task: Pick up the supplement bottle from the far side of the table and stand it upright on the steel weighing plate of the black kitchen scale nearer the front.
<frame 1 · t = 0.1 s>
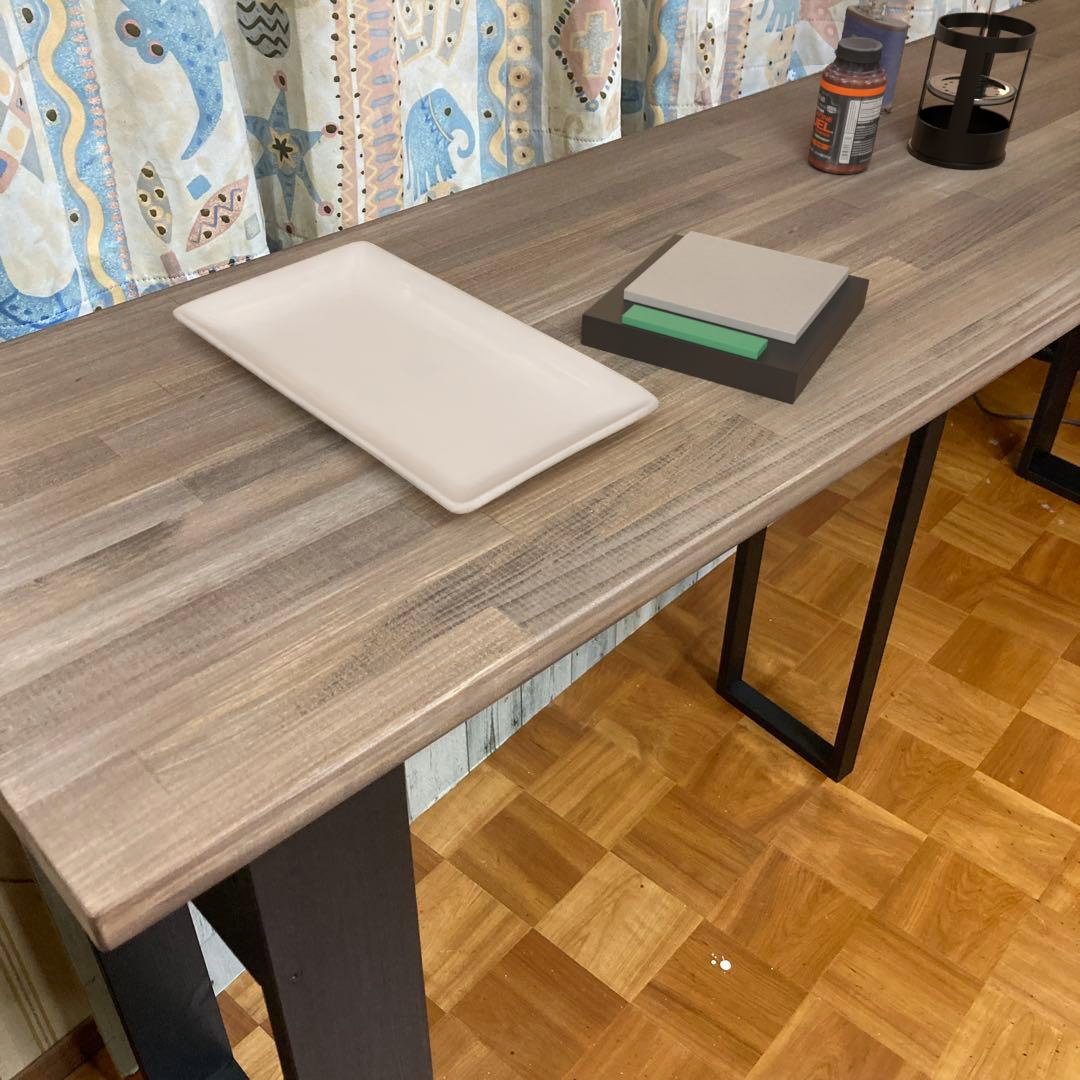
supplement bottle: (837, 167, 109), on the table
flask: (858, 103, 124), on the table
scale: (726, 325, 83), on the table
tray: (405, 396, 76), on the table
french press: (955, 153, 113), on the table
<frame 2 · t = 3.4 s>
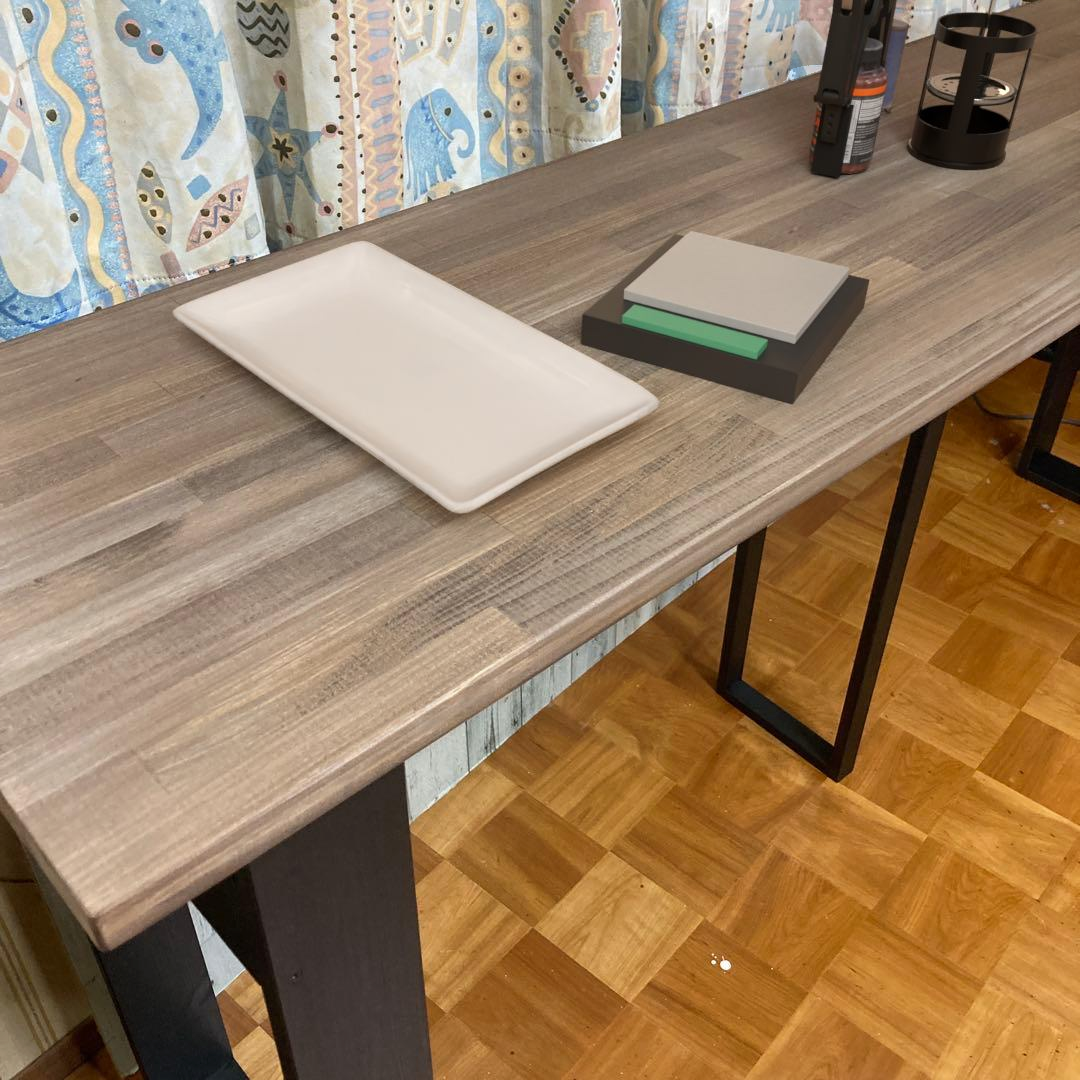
hand: (836, 161, 109), 0 cm above the table, tool pointing down, fingers closed on supplement bottle, 6 cm apart
supplement bottle: (838, 167, 109), on the table, touching gripper
everything else where it was.
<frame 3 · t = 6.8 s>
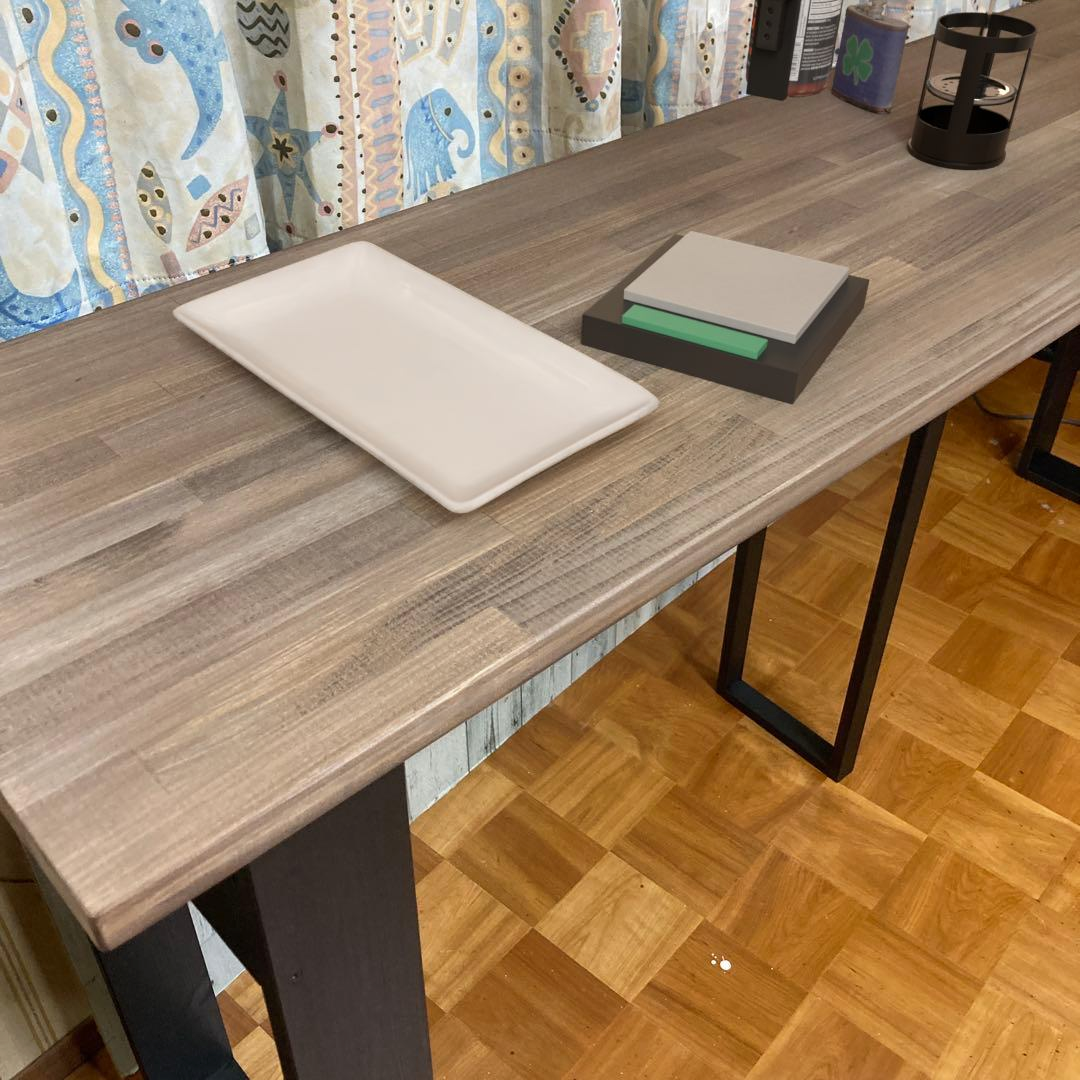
hand: (784, 82, 80), 15 cm above the table, tool pointing down, fingers closed on supplement bottle, 6 cm apart
supplement bottle: (785, 89, 80), point 15 cm above the table, touching gripper
everything else where it was.
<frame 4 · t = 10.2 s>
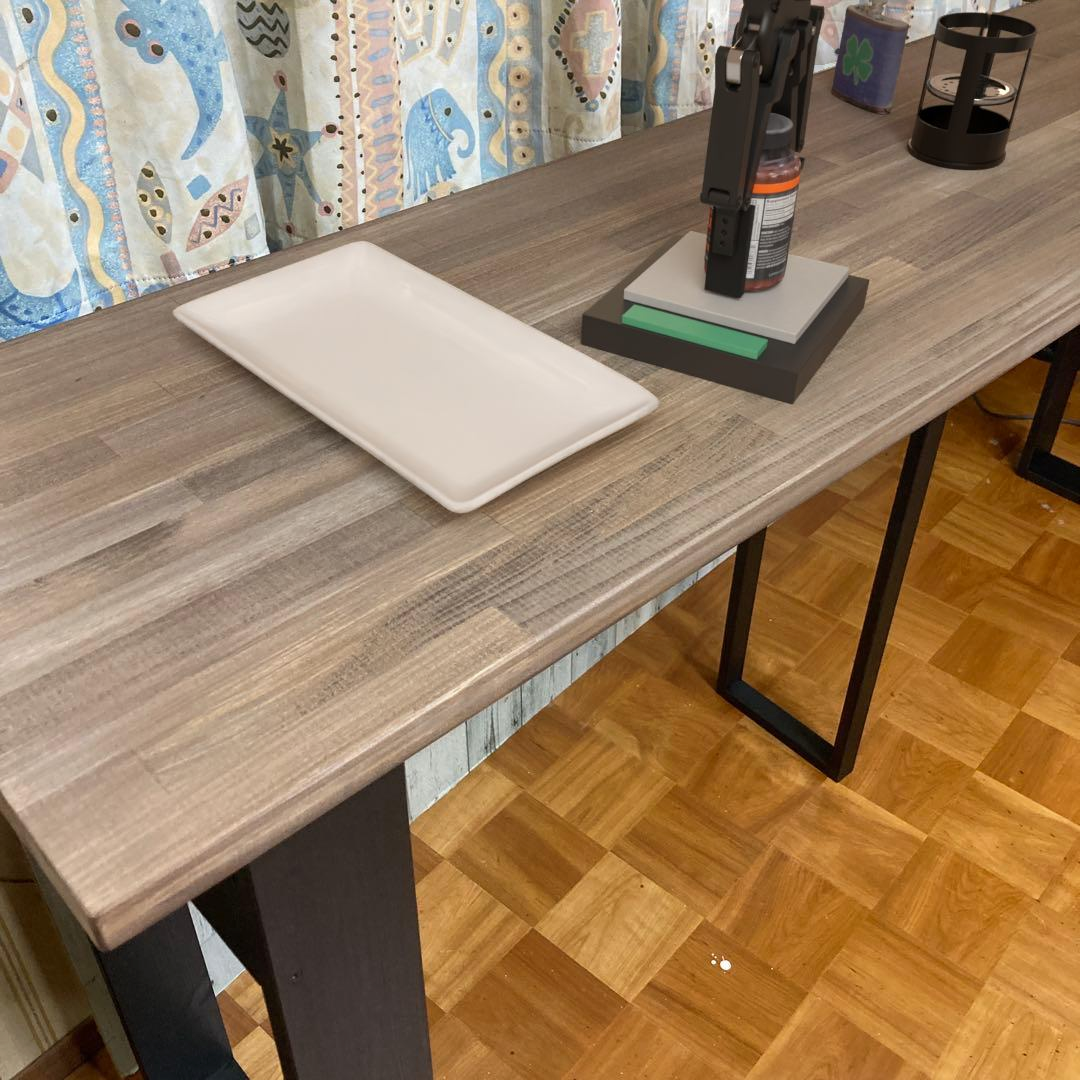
hand: (741, 273, 82), 4 cm above the table, tool pointing down, fingers closed on supplement bottle, 6 cm apart
supplement bottle: (743, 279, 82), point 3 cm above the table, touching gripper
everything else where it was.
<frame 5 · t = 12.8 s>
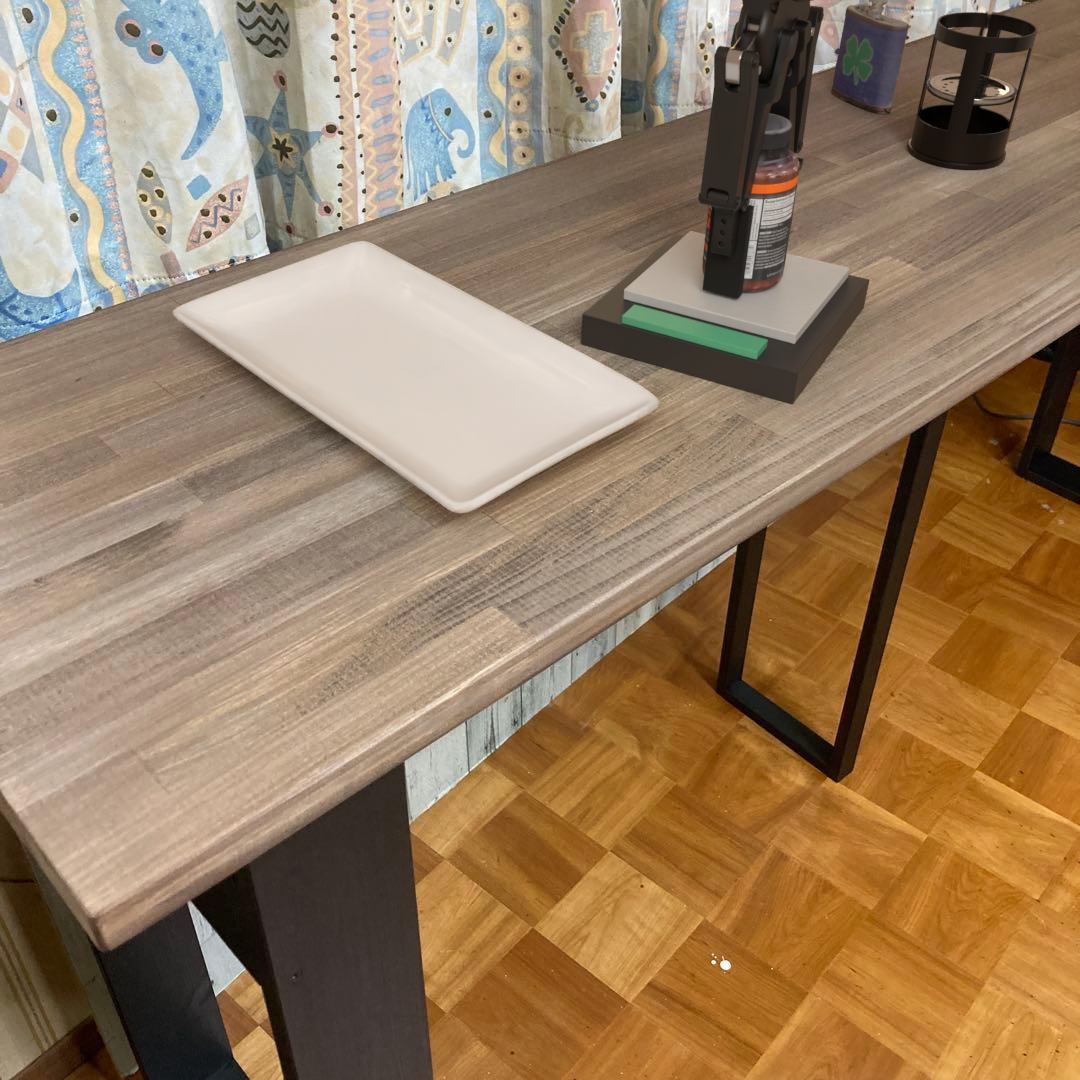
hand: (739, 273, 82), 4 cm above the table, tool pointing down, fingers closed on supplement bottle, 6 cm apart
supplement bottle: (741, 279, 82), point 3 cm above the table, touching gripper
everything else where it was.
when the fingers open (4 cm above the table, at t = 15.2 s): supplement bottle stays where it is, resting on scale.
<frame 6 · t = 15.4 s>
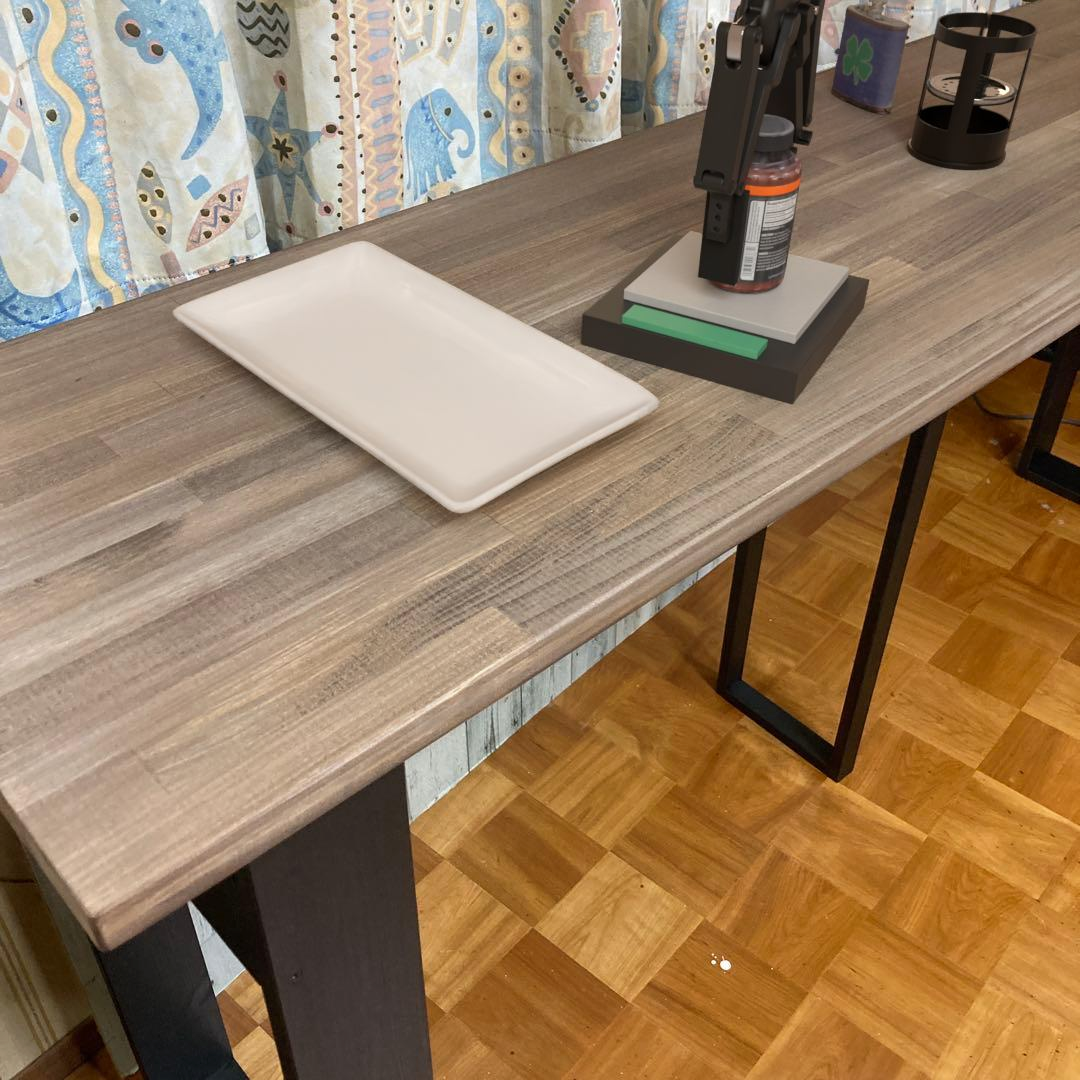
hand: (742, 254, 81), 5 cm above the table, tool pointing down, fingers open, 9 cm apart
supplement bottle: (742, 280, 83), point 3 cm above the table, touching scale
everything else where it was.
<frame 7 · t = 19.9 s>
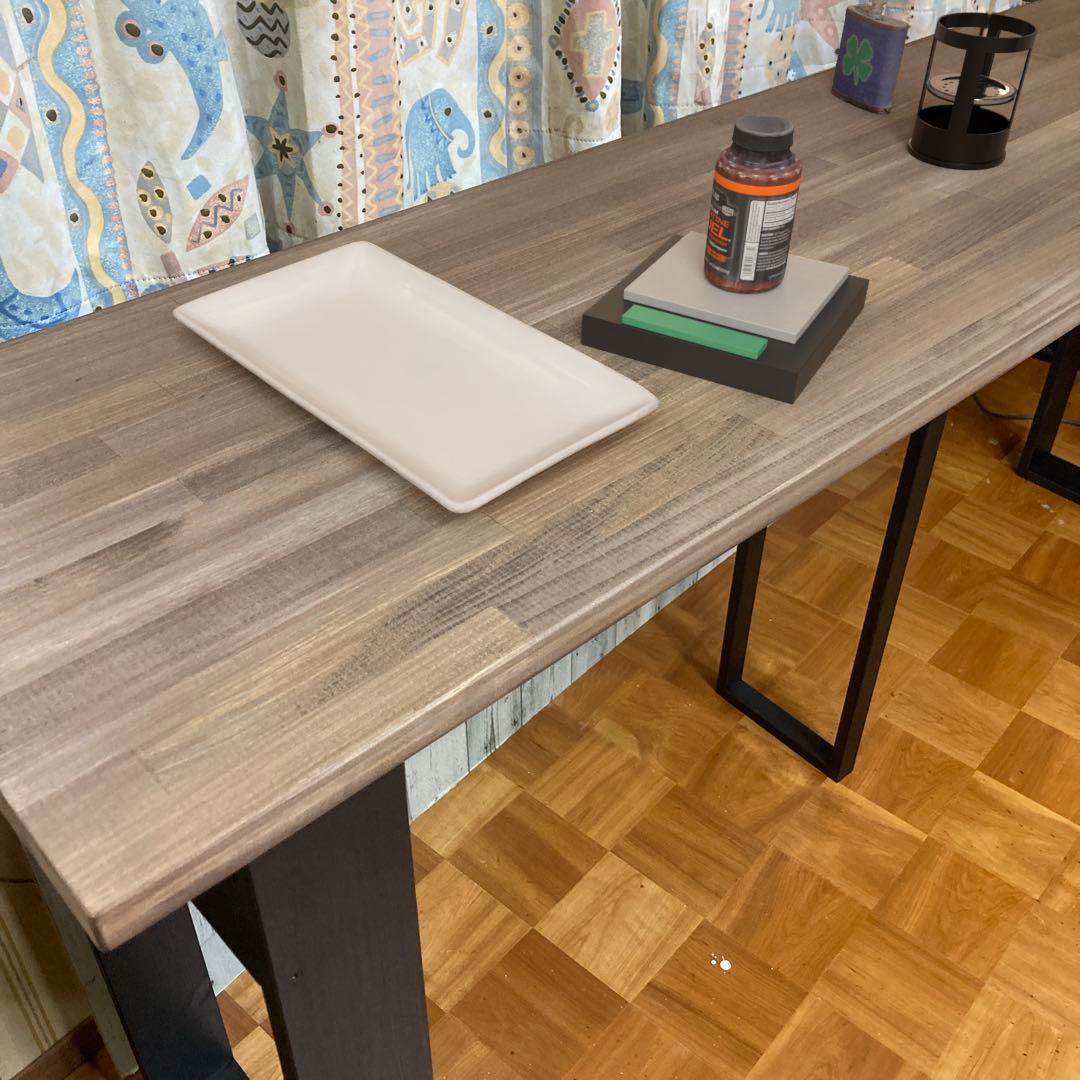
nothing on the table moved.
at the end: supplement bottle inside the target area on the scale (0.3 cm from its centre), point 3.0 cm above the scale's base; supplement bottle tilted 0°; the gripper is holding nothing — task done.
